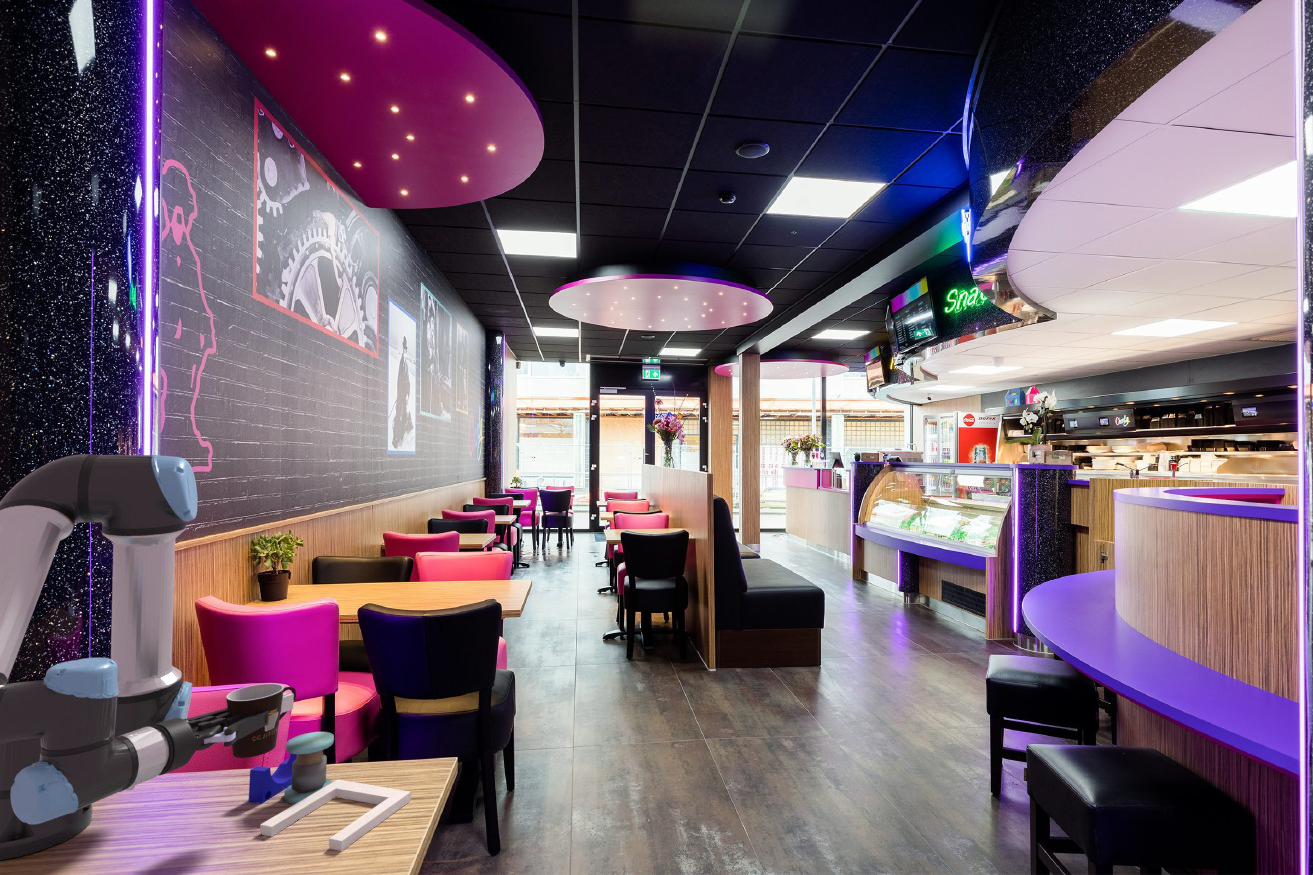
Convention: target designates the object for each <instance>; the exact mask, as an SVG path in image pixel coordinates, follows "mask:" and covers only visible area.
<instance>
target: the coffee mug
mask: <svg viewBox="0 0 1313 875" xmlns="http://www.w3.org/2000/svg"><path fill="white" fill-rule="evenodd" d="M286 691H290V692H291V694H294V701H293V704H294V702H296V697H297V691H296V688H294V687H292V686H284V685H283V684H280V683H271V682H270V683H269V682H268V683H258V684H253V685H247V686H244V687H241V688H238V689H235V690H233V691H230V692H229V693H228V694H227V695H226V698H225V700H226V708H228V712H229V713H231V717H233V716H235V715H238V714H246V715H247V717H248V716H250V715H253V714H255V713H259V712H263V711H267V710H269V719H268V725H266V726H264V727H262V728H260V729H258V730H256V731H254V732H252V733H250V734H249V735H247V736H245V737H243V738H241V739H239V740H237V741H236V742H235V743H234V744H233V745H231V749H232V750H231V751H232V756H233V757H234V758H238V759H248V758H254V757H259V756H262V755H264V754H267V753H269V752H271V751H273V750H274V749H275V748H276V746H277V739H278V732H279V728H280V727H279V726H280V721H281V720H282V718H283V717H284V716H285V715H286V714H287V712H289V711H286V712H284V713H281V706H282V699H283V694H284V693H286ZM280 713H281V714H280Z"/></svg>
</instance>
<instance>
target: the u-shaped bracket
mask: <svg viewBox="0 0 1313 875" xmlns="http://www.w3.org/2000/svg"><path fill="white" fill-rule="evenodd" d="M335 798H339V799H343V800H351V801H355V802H362V803H366V804H367V803H368V804H372V805H373V804H374V805H376V806H374V807H372V808H371V809H370V810H369V811H367V812H366V813H364V814H363V815H361V816H359V817H358V818H357V819H355V820H354V821H353V822H351V823H349V824H348V825H347V826H345V827H344V828H342V829H341V830H340V831H338V832H336V834H333V835H332V836H331V837H330V838H329V841H328V842H329V844H328V849H329V850H333V851H338V852H343V851H344V850H345V849H347V848H348V847H349V846H351V845H353V843H355V842H356V841H358V840H359V839H361V838H362V837H363V836H364V835H366V834H368V833H369V832H370V831H372V829H375V827H376V826H378V825H379V824H381V823H382V822H383V821H385V820H386V819H388V818H389V817H391V816H392V815H394V813H397V811H399V810H400V809H401V808H403V807H404V806H405V805H407V804H408V803H410V802H411V800H412V799H411V798H412V791H409V790H402V789H397V788H391V787H385V786H378V785H374V784H373V785H372V784H366V783H363V782H362V783H361V782H354V781H348V780H343V779H336V780H334V781H332V783H331V784H329V785H327V786H326V787H324V788H322V789H320V790H319V791H317V792H315V793H314V794H312V795H310V796H308V797H307V798H305V799H303V800H302V801H300V802H298V803H296V804H292V805H291V806H290V807H288V808H286V809H284V810H283V811H281V812H280V813H278V814H276V815H274V816H273V817H271V818H269V819H267V820H266V821H264V822H262V823H261V824H260V829H259V830H260V831H259V835H261V834H262V836H266V837H273V836H275V835H276V834H278V833H280V832H281V830H282V831H283V830H285V829H287V828H288V827H289V825H290V824H291V825H293V824H294V822H295V821H296V822H298V821H299V820H301V819H303V818H304V817H306V816H308V815H309V814H311V813H312V812H314V811H315V810H317V809H319V808H320V807H323V806H324V805H325V804H327V803H329V802H330V801H331V800H334V799H335ZM409 801H410V802H409ZM310 812H311V813H310ZM308 813H309V814H308ZM307 814H308V815H307ZM305 815H306V816H305ZM302 817H303V818H302ZM300 818H301V819H300ZM298 819H299V820H298ZM297 820H298V821H297ZM296 822H295V823H296ZM292 823H293V824H292ZM291 825H290V826H291ZM287 826H288V827H287ZM284 828H285V829H284Z"/></svg>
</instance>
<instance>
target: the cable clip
mask: <svg viewBox="0 0 1313 875" xmlns="http://www.w3.org/2000/svg"><path fill="white" fill-rule="evenodd" d="M296 759H297V754H291V753H289V758H288V759H286V760H284V761H282V762H281V763H280V764H279V765H278V766H277V769H276V770H275V771H274V772H273V773H272V774H271V767H268V766H255V767H253V768H251V769H249V785H248V803H251V804H252V803H254V804H264V803H266V802H268V801H269V800H270V799H272V798H273V797H275V796H277V795H278V794H280V793H282V792H283V791H285V790H286V789H287V788H288V787H289V786H290V785H291V784H292V763H293V761H295V760H296Z"/></svg>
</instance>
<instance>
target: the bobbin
mask: <svg viewBox="0 0 1313 875" xmlns="http://www.w3.org/2000/svg"><path fill="white" fill-rule="evenodd" d="M334 736H335V735H334V734H333V733H331V732H328V731H315V732H313V731H312V732H309V733H303V734H299V735H297V736H295V737H293V738H292V737H291V739H289V740H288V741H287V742H286V748H285V749H286V752H287V753H288V754H297V759H296V760H295V761H293V763H292V784H291V785H290V786H289V787H288V788H286V789H285V790H284V798H283V800H284V802H285V803H286V804H290V805H295V804H296V803H298V802H300V801H302V800H303V799H305V798H307V797H308V796H310V795H312V794H314V793H315V792H317V791H319V790H320V789H322V788H324V787H326V786H327V785H329V784H331V783H332V782H333V781H332V780H331V779H330V778H327V762H328V761H327V757H328V756H327V755H325V754H324V752H323V751H324V750H326V749H328V748H330V747H331V746H332V745H334V741H335V737H334Z"/></svg>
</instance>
